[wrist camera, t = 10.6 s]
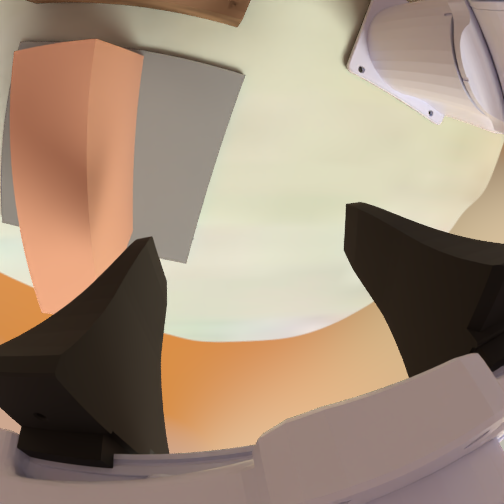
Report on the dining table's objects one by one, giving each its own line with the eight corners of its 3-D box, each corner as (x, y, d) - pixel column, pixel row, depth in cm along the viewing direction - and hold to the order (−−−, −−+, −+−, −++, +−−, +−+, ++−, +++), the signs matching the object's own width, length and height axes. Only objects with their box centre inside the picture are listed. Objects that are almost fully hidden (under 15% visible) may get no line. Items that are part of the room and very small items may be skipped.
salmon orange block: (143, 56, 15) (95, 38, 7) (132, 230, 21) (103, 320, 13) (91, 57, 14) (14, 51, 6) (88, 228, 20) (41, 312, 12)
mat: (244, 75, 17) (245, 75, 16) (186, 259, 23) (186, 263, 23) (23, 42, 12) (20, 41, 12) (5, 219, 18) (2, 222, 18)
